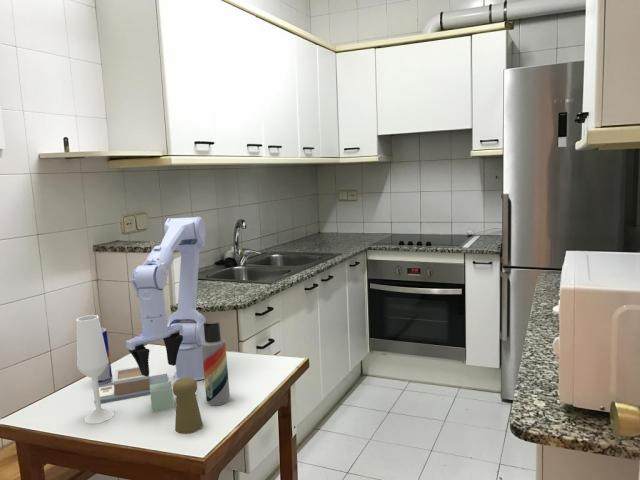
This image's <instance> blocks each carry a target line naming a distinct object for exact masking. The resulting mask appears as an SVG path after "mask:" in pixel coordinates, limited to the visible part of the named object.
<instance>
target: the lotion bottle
mask: <svg viewBox="0 0 640 480" xmlns="http://www.w3.org/2000/svg"><path fill="white" fill-rule="evenodd" d="M203 325H204V337H205V340H204V341H202V343H201V347H202V358H203V369H204V379H203V380H204V389H205V398H206V399H205V400H206V403H207V404H208V405H210V406H220V405H223V404H226V403H228V402H229V401H230V400H231V399H230V398H231V397H230V395H231V394H230V384H229V383H230V381H229V372H228V371H229V369H228V356H227V349H226V339H224V338H222V335H221V334H222V333H221V323H220V322H219V321H206V322H205V323H204V324H203Z"/></svg>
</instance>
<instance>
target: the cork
mask: <svg viewBox="0 0 640 480" xmlns="http://www.w3.org/2000/svg"><path fill="white" fill-rule="evenodd" d="M197 391H198V383H197V380H196V381H195V380H194V379H193V378H181V379H179V380H177V381H176V380H175V381H174V383H173V385H172V392H173V395H174V396H175V397H176V399H175V400H176V401H175V418H174V419H175V422H174V423H175V424H174V431H175V433H178V434H182V435H188V434H193V433H196V432H198V431H199V430H201V429H202V428H203V426H204V423H203V419H202V415H201V411H200V407H199V402H198V399H197V395H196V393H197Z"/></svg>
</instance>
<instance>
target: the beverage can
mask: <svg viewBox="0 0 640 480" xmlns="http://www.w3.org/2000/svg"><path fill="white" fill-rule="evenodd" d="M101 330H102V334H103V339H104V343H105V348H106V352H107V357H108V365H107V367H106V369H105V370H104V371H103V372H102V373H101V375H100V376H98V377H97V378H98V385H102V384H108V383H111V381H112V380H113V374H112V373H113V372H112V366H111V365H112V364H111V356H110V349H109V346H110V345H109V339H108V332H107V328H105V327H101Z"/></svg>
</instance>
